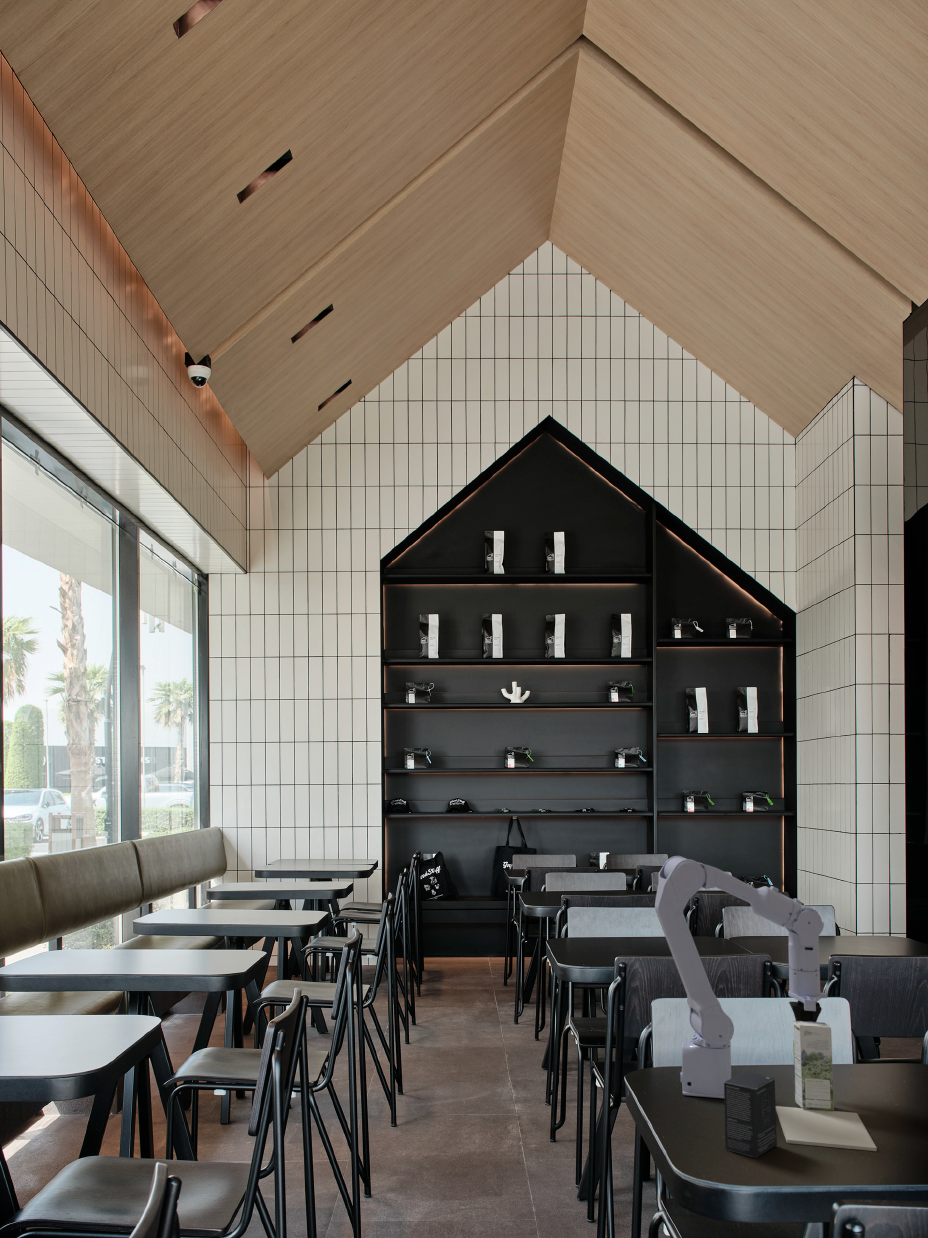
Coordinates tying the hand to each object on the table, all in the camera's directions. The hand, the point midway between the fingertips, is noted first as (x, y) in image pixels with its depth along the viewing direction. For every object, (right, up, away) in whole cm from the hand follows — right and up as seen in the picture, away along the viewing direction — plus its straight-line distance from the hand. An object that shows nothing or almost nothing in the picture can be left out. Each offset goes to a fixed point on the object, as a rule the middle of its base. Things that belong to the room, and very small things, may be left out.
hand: (806, 1042), depth 195 cm
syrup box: (-2, -8, -10) cm, 13 cm away
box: (-19, -4, -31) cm, 37 cm away
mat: (-4, -6, -21) cm, 22 cm away
